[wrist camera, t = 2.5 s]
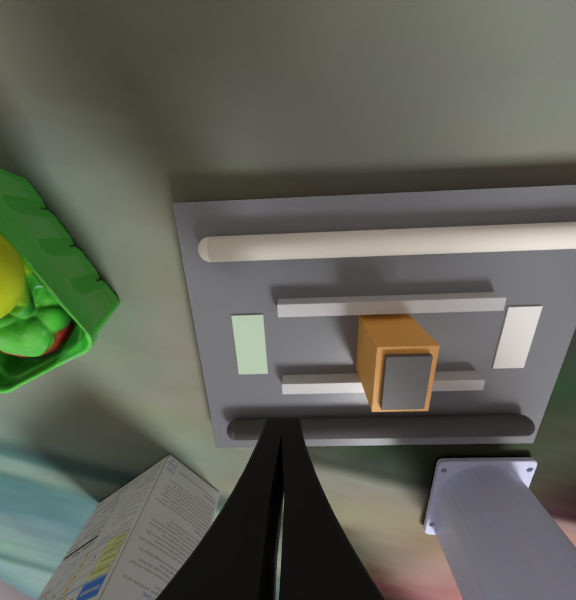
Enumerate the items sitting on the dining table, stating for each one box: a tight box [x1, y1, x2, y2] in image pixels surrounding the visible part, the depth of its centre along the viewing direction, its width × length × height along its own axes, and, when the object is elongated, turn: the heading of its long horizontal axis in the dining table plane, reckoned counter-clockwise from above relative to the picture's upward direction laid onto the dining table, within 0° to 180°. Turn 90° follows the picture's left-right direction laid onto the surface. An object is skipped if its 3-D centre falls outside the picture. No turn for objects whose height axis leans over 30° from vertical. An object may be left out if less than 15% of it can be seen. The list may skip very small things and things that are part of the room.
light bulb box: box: [37, 455, 219, 600], centre depth 21 cm, size 11×7×11 cm, turn 130°
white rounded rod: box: [198, 222, 576, 262], centre depth 15 cm, size 1×21×1 cm, turn 92°
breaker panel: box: [172, 185, 576, 447], centre depth 18 cm, size 18×24×2 cm
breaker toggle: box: [356, 314, 440, 412], centre depth 16 cm, size 4×3×4 cm
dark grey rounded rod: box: [227, 414, 535, 441], centre depth 19 cm, size 1×21×1 cm, turn 92°
